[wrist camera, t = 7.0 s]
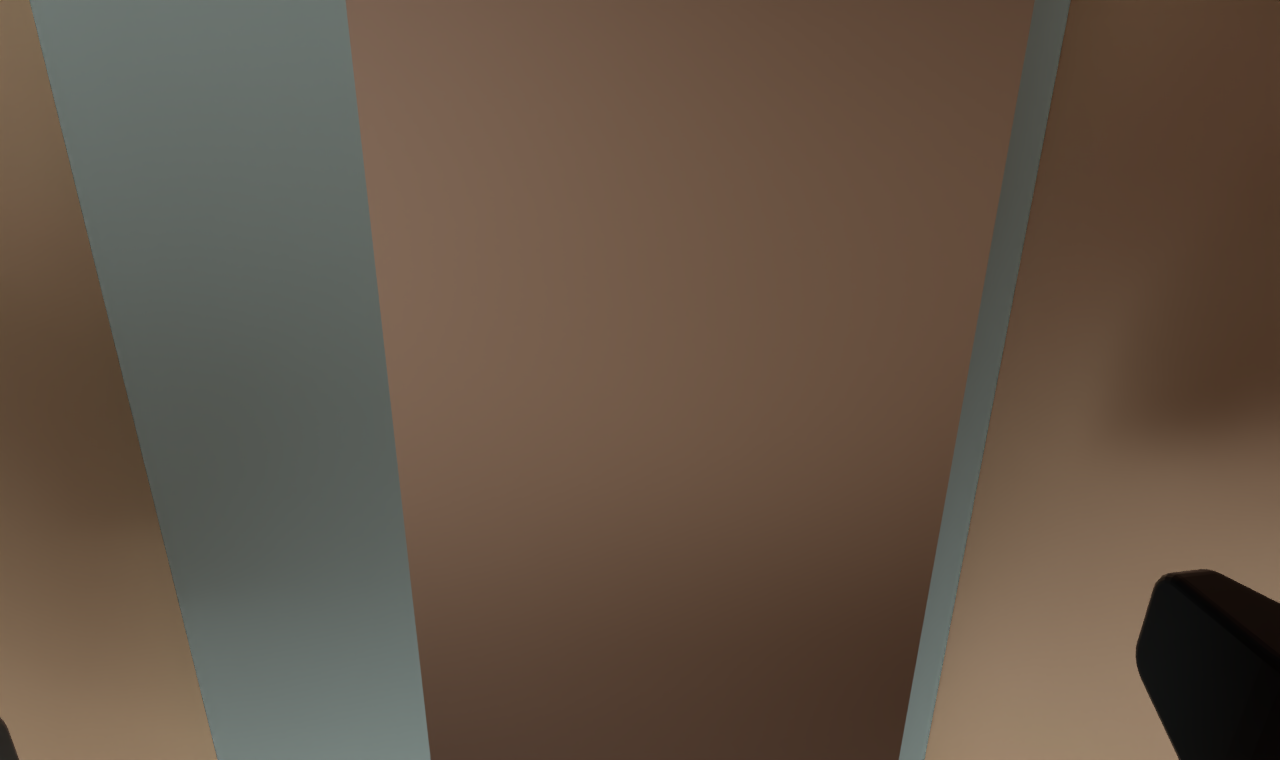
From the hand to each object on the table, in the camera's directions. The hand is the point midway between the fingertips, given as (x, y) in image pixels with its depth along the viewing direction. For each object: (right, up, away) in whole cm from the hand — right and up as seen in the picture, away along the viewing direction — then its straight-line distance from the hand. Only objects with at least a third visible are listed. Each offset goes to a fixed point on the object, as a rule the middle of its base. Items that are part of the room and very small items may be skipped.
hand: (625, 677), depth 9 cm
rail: (0, +1, +1) cm, 1 cm away
